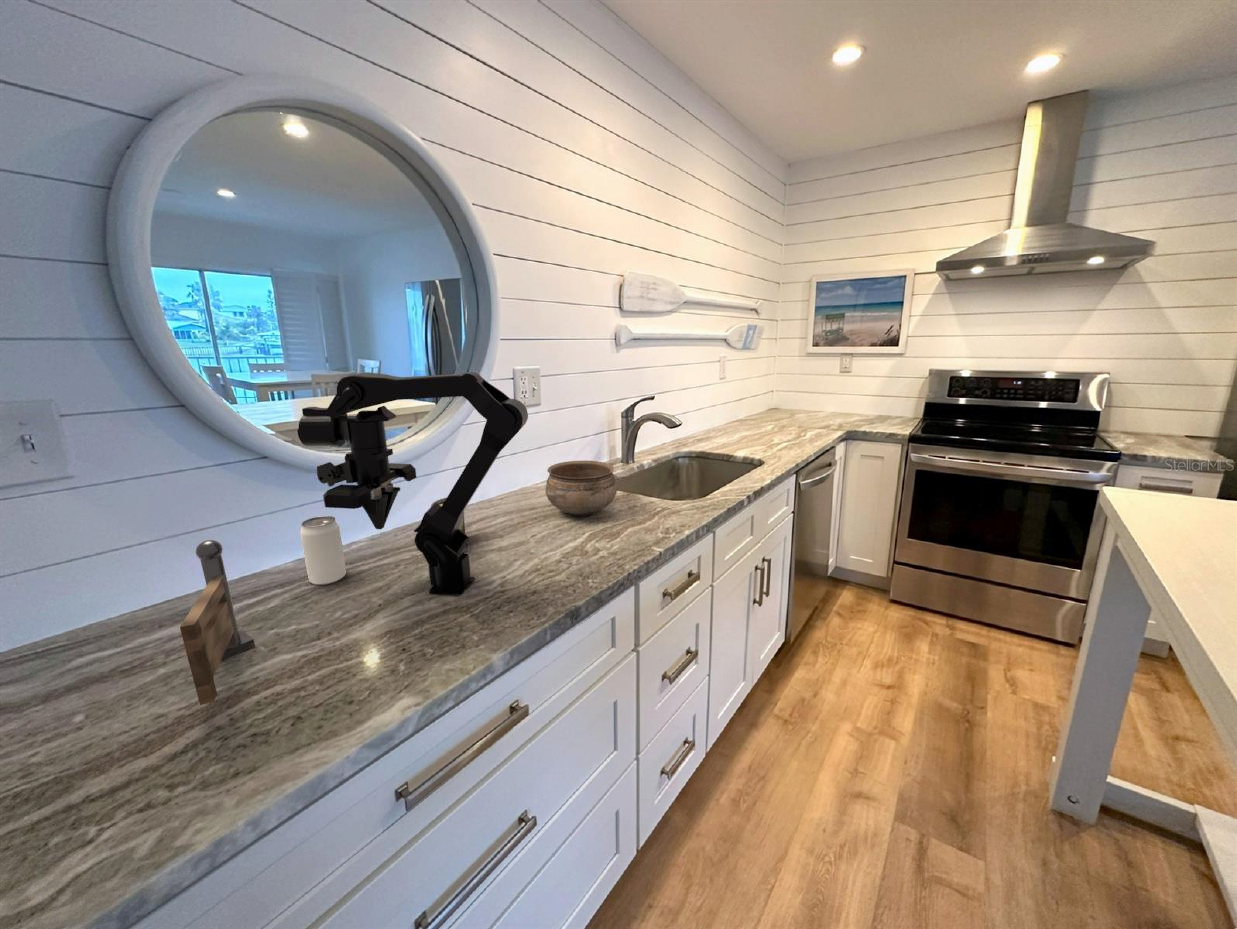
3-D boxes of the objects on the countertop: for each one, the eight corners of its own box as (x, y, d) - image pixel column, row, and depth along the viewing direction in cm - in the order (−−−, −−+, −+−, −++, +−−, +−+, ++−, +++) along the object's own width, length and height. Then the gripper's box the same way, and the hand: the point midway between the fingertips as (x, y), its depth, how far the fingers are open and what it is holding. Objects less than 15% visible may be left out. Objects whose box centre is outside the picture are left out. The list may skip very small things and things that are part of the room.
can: (330, 587, 94) (320, 528, 91) (300, 584, 95) (290, 526, 92) (354, 571, 100) (345, 516, 97) (326, 569, 101) (317, 514, 98)
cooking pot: (583, 494, 148) (582, 454, 145) (636, 506, 138) (636, 463, 135) (523, 519, 128) (520, 473, 125) (580, 535, 118) (578, 486, 115)
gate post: (208, 651, 75) (182, 542, 71) (242, 636, 79) (219, 532, 74) (221, 661, 73) (194, 549, 68) (254, 645, 76) (231, 539, 72)
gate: (228, 643, 74) (212, 576, 71) (239, 641, 74) (224, 574, 71) (200, 705, 61) (179, 627, 59) (214, 701, 62) (194, 624, 59)
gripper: (360, 434, 97) (370, 509, 101) (285, 456, 79) (301, 547, 83) (413, 435, 95) (421, 511, 99) (350, 459, 77) (363, 551, 81)
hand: (379, 528), depth 91 cm, fingers closed
